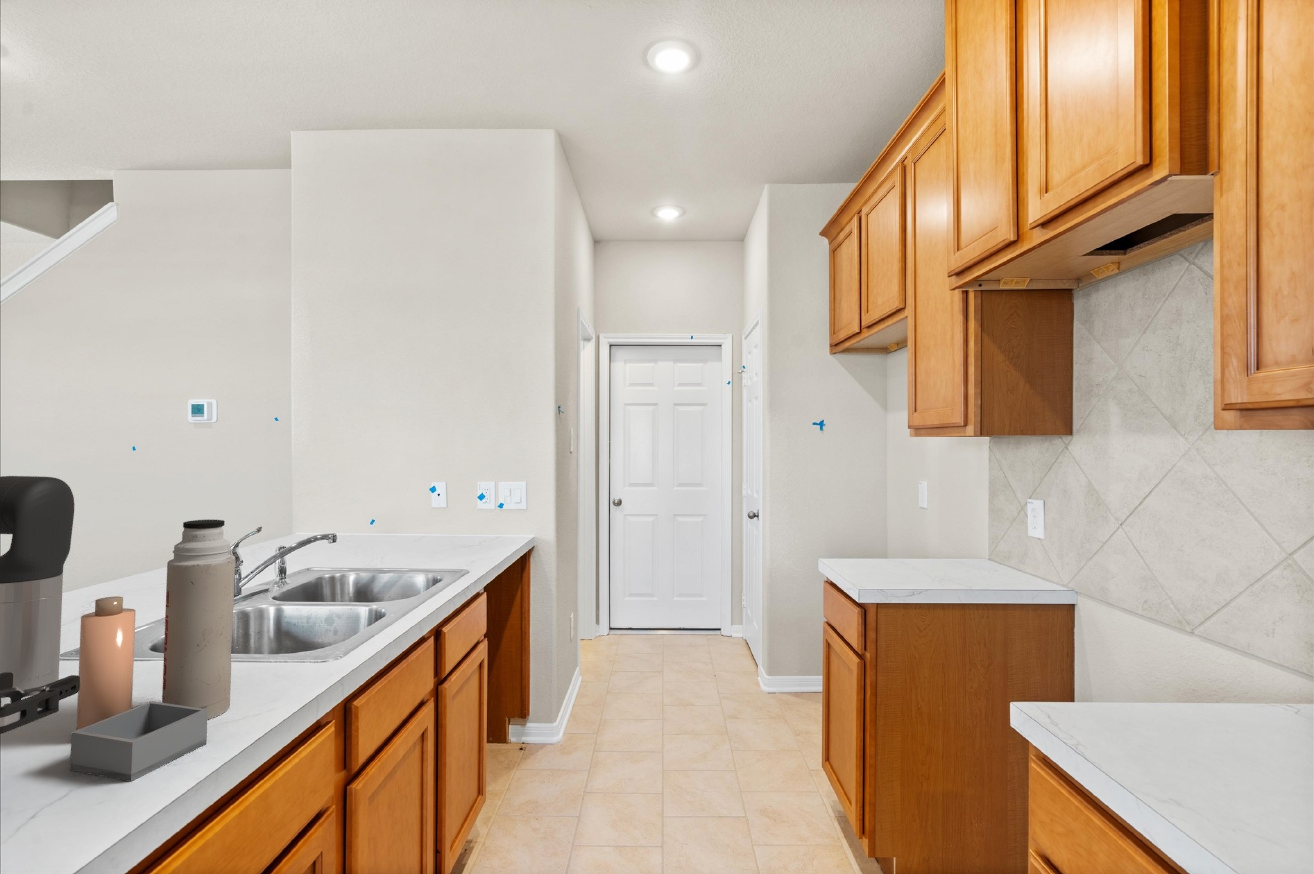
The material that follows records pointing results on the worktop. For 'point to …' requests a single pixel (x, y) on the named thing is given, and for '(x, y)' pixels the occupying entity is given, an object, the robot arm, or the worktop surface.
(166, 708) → the bin
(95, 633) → the oil bottle
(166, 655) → the thermos bottle
